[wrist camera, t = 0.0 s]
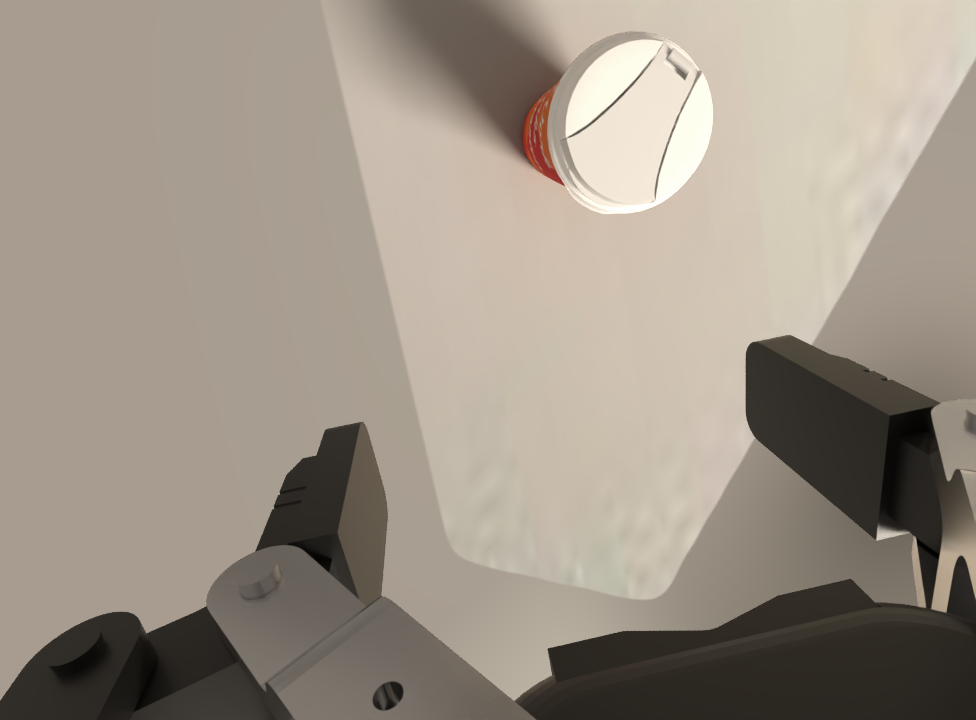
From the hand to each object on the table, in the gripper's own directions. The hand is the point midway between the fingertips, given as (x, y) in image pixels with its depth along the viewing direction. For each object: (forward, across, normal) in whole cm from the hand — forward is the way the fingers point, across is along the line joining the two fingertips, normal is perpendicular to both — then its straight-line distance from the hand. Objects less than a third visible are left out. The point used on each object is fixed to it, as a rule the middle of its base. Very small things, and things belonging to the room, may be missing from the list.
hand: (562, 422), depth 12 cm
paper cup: (+30, -8, -5) cm, 31 cm away
